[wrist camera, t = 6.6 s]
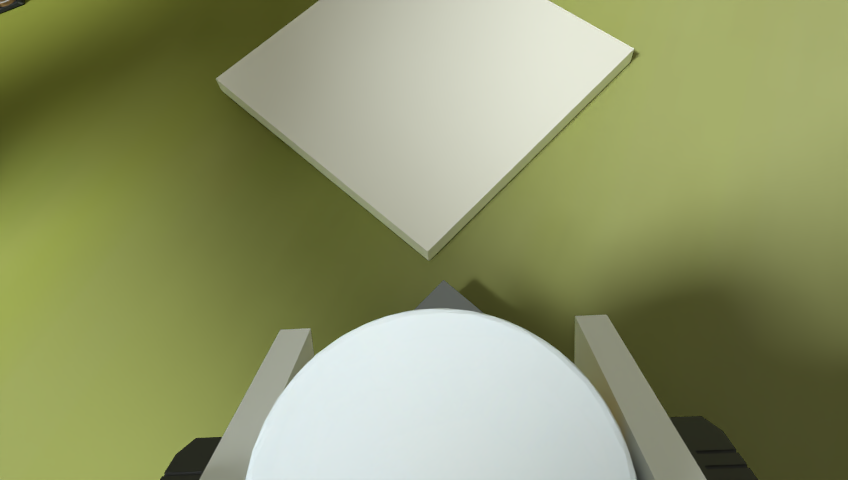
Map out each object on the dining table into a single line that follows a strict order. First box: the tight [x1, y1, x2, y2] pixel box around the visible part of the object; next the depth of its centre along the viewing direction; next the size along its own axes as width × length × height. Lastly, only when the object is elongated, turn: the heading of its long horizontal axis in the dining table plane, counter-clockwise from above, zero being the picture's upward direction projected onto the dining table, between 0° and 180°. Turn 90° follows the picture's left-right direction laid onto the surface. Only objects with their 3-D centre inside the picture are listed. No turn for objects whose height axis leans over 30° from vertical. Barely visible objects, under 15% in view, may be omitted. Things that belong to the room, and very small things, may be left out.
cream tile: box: [216, 0, 634, 261], centre depth 35 cm, size 16×16×1 cm
